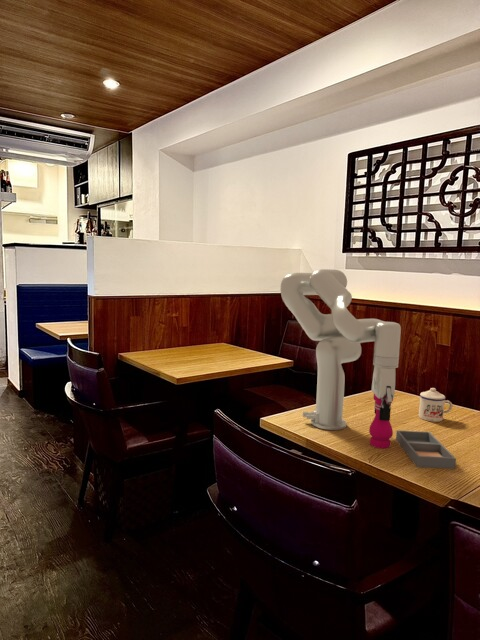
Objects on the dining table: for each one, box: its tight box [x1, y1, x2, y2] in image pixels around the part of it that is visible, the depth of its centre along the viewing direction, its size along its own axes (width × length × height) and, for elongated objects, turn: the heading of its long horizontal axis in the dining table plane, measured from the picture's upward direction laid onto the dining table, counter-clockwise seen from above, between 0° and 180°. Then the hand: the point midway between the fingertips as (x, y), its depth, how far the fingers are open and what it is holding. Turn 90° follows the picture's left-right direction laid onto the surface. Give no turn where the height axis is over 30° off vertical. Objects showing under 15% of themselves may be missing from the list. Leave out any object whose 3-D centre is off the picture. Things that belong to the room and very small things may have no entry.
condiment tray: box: [395, 429, 457, 470], centre depth 140 cm, size 11×21×3 cm, turn 177°
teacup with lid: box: [418, 387, 453, 423], centre depth 173 cm, size 12×9×12 cm
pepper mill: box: [368, 393, 394, 450], centre depth 145 cm, size 7×7×20 cm
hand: (381, 416), depth 145 cm, fingers closed on pepper mill, 5 cm apart
